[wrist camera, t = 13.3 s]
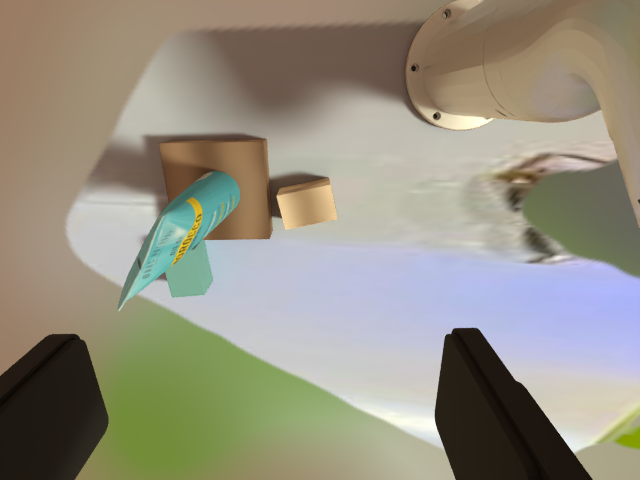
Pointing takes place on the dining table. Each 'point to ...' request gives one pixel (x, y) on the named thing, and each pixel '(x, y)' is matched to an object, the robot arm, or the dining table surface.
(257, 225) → the plinth
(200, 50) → the dining table surface
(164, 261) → the tube
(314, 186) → the beech block
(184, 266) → the teal block
